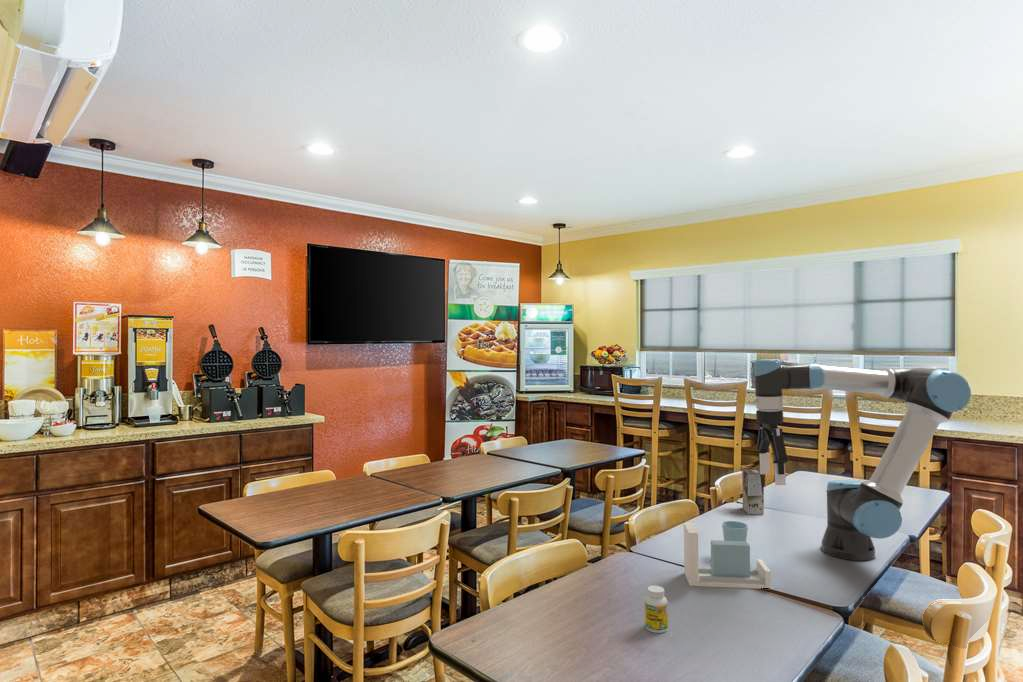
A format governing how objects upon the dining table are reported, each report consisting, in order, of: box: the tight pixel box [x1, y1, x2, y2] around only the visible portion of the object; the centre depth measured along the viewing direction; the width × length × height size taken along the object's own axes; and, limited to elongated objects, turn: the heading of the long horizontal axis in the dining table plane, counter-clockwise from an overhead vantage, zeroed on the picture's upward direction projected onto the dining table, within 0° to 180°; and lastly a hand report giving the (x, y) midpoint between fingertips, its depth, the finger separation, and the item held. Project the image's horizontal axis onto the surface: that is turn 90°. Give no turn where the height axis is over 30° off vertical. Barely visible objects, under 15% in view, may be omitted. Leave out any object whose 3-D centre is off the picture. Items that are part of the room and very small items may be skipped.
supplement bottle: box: [644, 585, 669, 634], centre depth 142 cm, size 5×5×10 cm
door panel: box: [710, 539, 751, 578], centre depth 169 cm, size 10×4×10 cm, turn 83°
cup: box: [721, 520, 749, 542], centre depth 187 cm, size 8×8×10 cm
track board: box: [683, 522, 772, 590], centre depth 169 cm, size 22×9×15 cm, turn 82°
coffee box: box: [741, 468, 765, 516], centre depth 235 cm, size 9×6×16 cm
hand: (772, 479), depth 179 cm, fingers open, 13 cm apart
